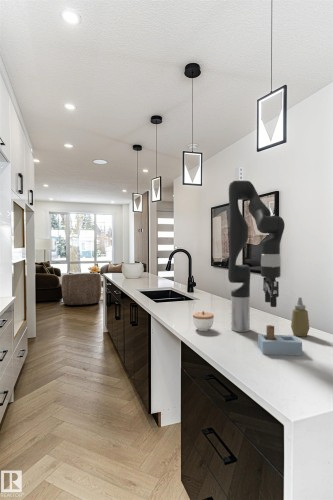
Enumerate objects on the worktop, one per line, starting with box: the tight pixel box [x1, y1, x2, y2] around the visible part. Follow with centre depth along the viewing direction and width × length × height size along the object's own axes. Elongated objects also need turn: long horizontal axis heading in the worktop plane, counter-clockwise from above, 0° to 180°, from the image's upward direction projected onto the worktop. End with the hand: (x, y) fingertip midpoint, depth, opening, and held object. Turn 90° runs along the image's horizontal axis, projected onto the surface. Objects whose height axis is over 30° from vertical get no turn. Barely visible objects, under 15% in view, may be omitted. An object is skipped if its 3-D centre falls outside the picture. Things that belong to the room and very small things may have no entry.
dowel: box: [265, 324, 275, 340], centre depth 118 cm, size 3×3×10 cm
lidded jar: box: [192, 310, 215, 332], centre depth 149 cm, size 11×11×9 cm
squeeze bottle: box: [290, 297, 310, 338], centre depth 138 cm, size 8×8×18 cm
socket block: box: [257, 334, 303, 356], centre depth 118 cm, size 9×15×5 cm, turn 84°
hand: (270, 304), depth 118 cm, fingers open, 8 cm apart
